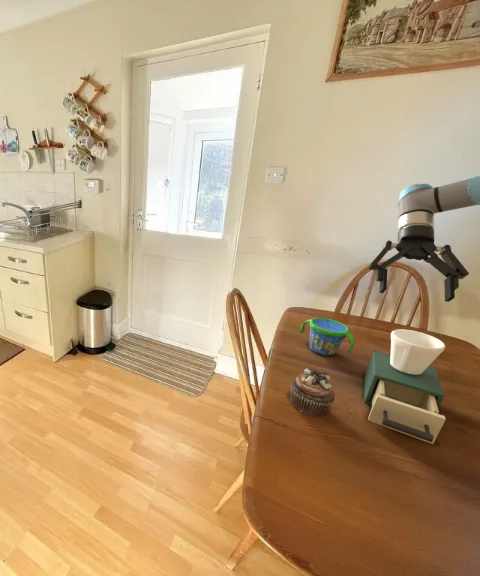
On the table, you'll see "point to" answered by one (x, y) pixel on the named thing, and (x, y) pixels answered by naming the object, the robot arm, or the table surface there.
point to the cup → (413, 351)
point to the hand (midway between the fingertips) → (415, 295)
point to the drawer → (406, 411)
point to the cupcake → (312, 392)
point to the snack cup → (327, 335)
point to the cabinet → (400, 378)
